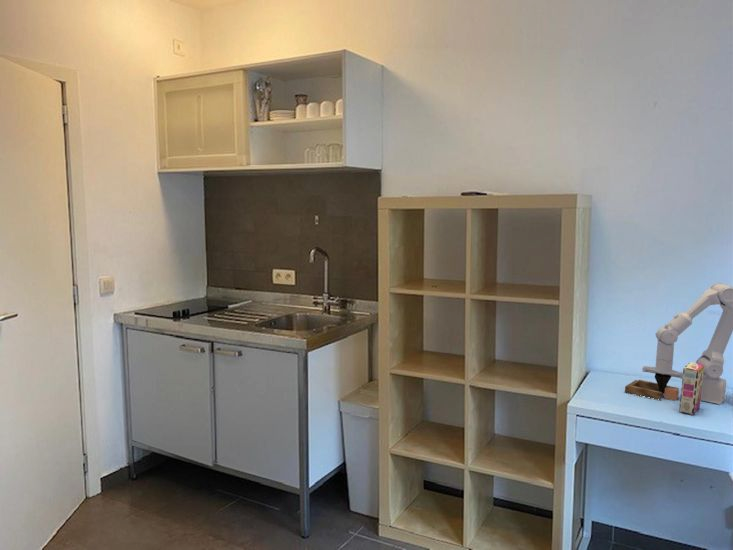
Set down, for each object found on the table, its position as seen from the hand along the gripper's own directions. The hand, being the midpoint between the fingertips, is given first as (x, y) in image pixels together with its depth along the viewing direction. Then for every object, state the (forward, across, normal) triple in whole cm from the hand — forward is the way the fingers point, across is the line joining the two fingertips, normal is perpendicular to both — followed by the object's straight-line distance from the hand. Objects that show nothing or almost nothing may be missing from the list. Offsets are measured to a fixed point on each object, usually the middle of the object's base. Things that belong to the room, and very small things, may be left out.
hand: (661, 393), depth 228 cm
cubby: (+1, +5, 0) cm, 5 cm away
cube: (+1, -3, 0) cm, 4 cm away
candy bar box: (+1, -12, +10) cm, 15 cm away
